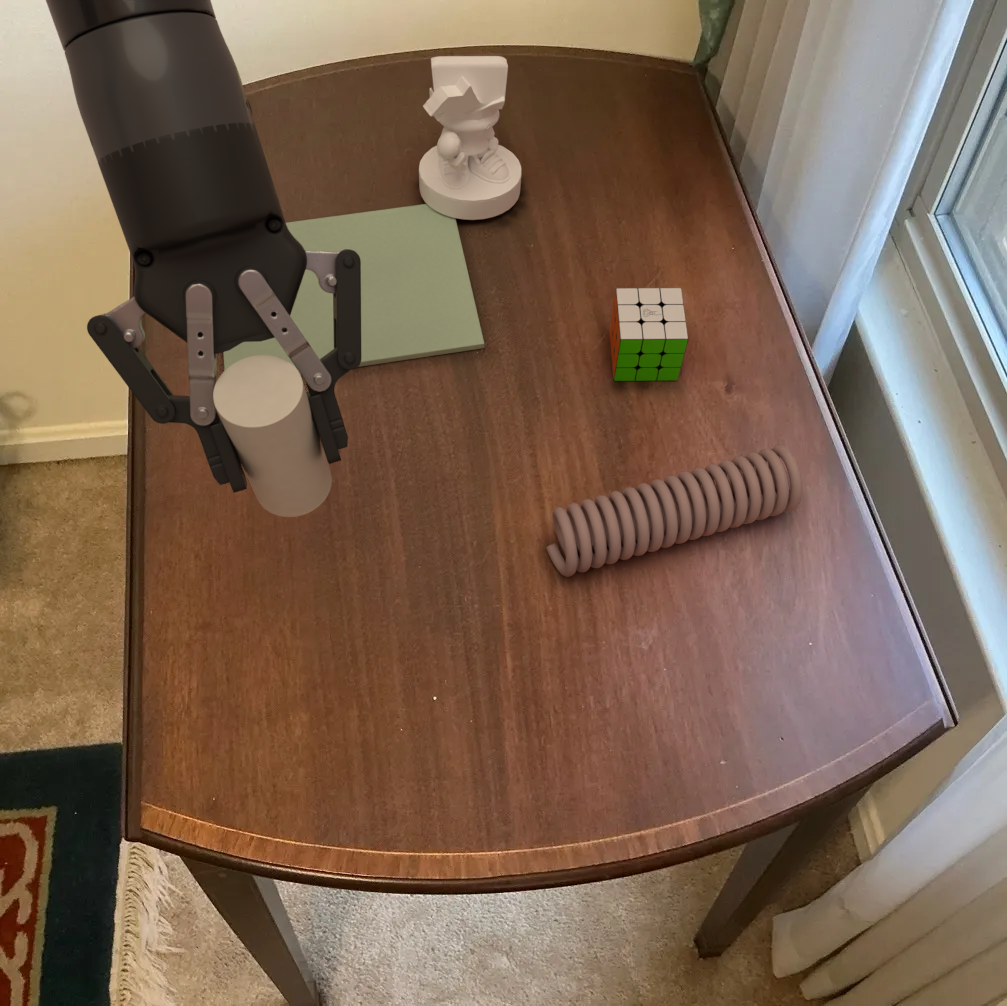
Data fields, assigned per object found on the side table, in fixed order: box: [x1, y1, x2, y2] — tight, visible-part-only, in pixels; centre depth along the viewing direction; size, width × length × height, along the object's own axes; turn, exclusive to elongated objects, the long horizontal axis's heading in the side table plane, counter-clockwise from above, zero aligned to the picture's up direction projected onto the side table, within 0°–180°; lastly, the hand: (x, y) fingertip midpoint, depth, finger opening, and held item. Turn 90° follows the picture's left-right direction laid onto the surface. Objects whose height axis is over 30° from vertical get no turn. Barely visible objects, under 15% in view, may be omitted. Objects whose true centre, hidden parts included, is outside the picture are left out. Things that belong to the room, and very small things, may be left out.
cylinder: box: [213, 355, 333, 518], centre depth 51 cm, size 4×4×9 cm
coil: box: [545, 444, 803, 578], centre depth 65 cm, size 5×5×18 cm
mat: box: [222, 203, 485, 376], centre depth 78 cm, size 20×16×1 cm
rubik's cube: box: [608, 287, 689, 382], centre depth 73 cm, size 5×5×5 cm
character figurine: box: [418, 55, 522, 221], centre depth 79 cm, size 9×10×12 cm
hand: (287, 472), depth 51 cm, fingers closed on cylinder, 4 cm apart
